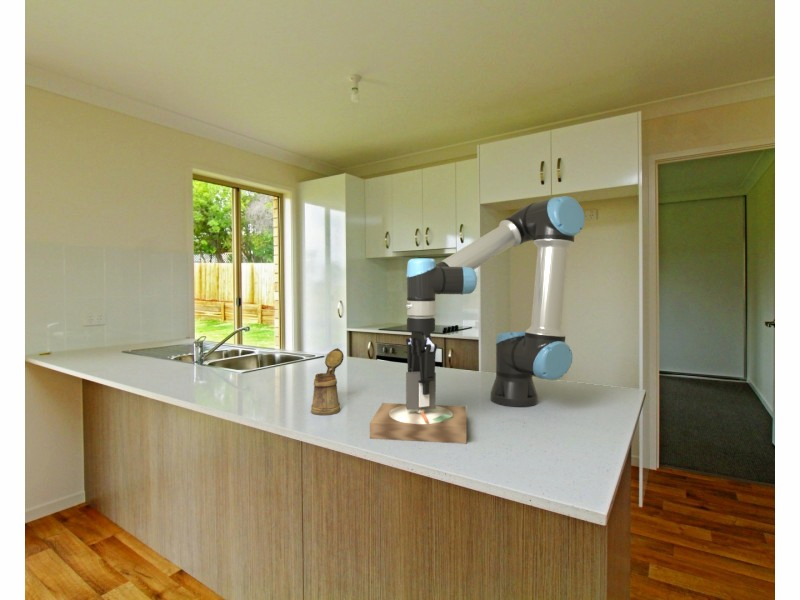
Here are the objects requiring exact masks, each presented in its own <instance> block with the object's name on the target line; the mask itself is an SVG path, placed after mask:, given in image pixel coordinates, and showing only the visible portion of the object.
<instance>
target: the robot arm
mask: <svg viewBox="0 0 800 600" xmlns="http://www.w3.org/2000/svg"><path fill="white" fill-rule="evenodd" d="M585 217H586V216H585V212H584V209H583V207H582V206H581V205H580V203H579V202H578V200H576V199H575V198H574V197H571V196H566V195H563V196H553V197H551V198H549V199H544V200H541V201H540V200H539V201H537V202H531V203H530V204H527V205H525V206H523V207H522V208H520V209H518V210H517V211H515V212H513V214H511V215H509V216H508V217H507V218H505V219H503V220H501V221H500V222H499V223H498V227H496V228H494V229H492V230H490V231H489V232H487V233H486V234H484V235H482V236H481V237H479V238H477V239H476V240H474V241H473V242H471V243H469V244H467V245H466V246H464V247H463V248H461V249H460V250H458V251H456V252H454V253H453V254H451V255H449V256H448V257H446V258H445V259H443V260H441V261H439V262H437V263H436V259H435V258H426V257H425V258H424V257H423V258H420V257H419V258H411V259H409V260H408V261H407V266H406V300H407V301H406V305H405V308H406V316H409V317H407V319H406V331H407V332H408V333H411V335H410V338H406V340H405V343H406V344H405V345H406V350H407V351H406V354H407V357H406V358H407V360H406V361H407V372H420V376H421V380H419V381H418V382H419V407H426V406H429V383H430V382H431V381H434V379H435V373H436V357H437V356H436V353H437V350H438V344H437V343H433V342H432V336H431V333H433V332H435V331H436V318H435V316H436V295H462V296H463V295H471V294H472V293H473V292H474V291H475V290H476V288H477V285H478V284H477V281H478V277H477V273H476V271H475V269H477V268H480V266H482V265H484V264H486V263H487V262H489V261H490V260H492V259H493V258H495V257H497V256H498V255H500V254H502V253H503V252H505V251H507V250H508V249H509V248H517V247H519V246H520V245H522V244H525V243H527V242H530V241H531V242H532V243H533V244H534V245H535V246H536V248H537V251H536V252H537V254H536V263H535V264H536V265H535V275H534V276H535V277H534V288H533V301H532V308H531V309H532V310H531V322H530V327H528V328H527V329H526V330H525V331H507V332H504V331H503V332H499V333H498V334H497V335H496V341H495V346H496V349H495V353H496V355H495V356H496V357H495V378H494V382H493V385H492V388H491V390H490V401H491V402H493V403H494V404H498V405H501V406H508V407H519V408H521V407H522V408H523V407H525V408H526V407H532V406H535V405H537V404H538V393H537V390H536V389H537V388H536V386H535V383H534V380H533V377H536V378H538V379H540V380H548V381H556V380H560V379H561V378H563V377H564V375H565V374H567V373H568V371H569V369H571V365H572V363H573V351H572V349H571V348H570V346H569V345H568V344H567V343H566V334H565V333H564V332H563V330H562V318H563V307H564V296H565V285H566V274H567V261H568V253H569V252H568V251H569V249H570V248H571V247H572V246H573V245H574V244H575V236H577V235H578V234H579V233H580V232H581V231H582V230H583V228H584V226H585V223H586V219H585Z"/></svg>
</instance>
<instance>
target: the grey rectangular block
mask: <svg viewBox="0 0 800 600" xmlns="http://www.w3.org/2000/svg"><path fill="white" fill-rule="evenodd" d="M436 374H437V373H436V372H435V379H434V381H431V382H430V383H429V406H426V407H419V382H418V381H419V380H421V376H420V372H408V371H405V378H406V380H405V404H406V408H407V410H417V413H419V414H421V415H422V417H423V419H424V421H425V422H428V419H427V417H426V415H425V414H424V409H436V405H437V404H436V399H437V398H436V396H437V394H436V390H437V389H436V386H437V385H436V384H437V382H436V381H437V379H436V377H437V375H436Z"/></svg>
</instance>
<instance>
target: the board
mask: <svg viewBox="0 0 800 600" xmlns="http://www.w3.org/2000/svg"><path fill="white" fill-rule="evenodd" d="M424 414H425V415H426V417H427V419H428V422H425V421H424V419H423V417H422V415H421V414H419V413H417V410H407V408H406V403H396V402H395V403H392V402H382V403H381V405H380V406H379V408H378V409H377V411H376V413H375V414H374V416H373V417H372V419H371V420H370V421H369V439H376V440H377V439H378V440H393V441H411V442H412V441H413V442H430V443H431V442H433V443H449V444H467V408H466V406H464V405H463V406H462V405H443V404H441V405H440V404H438V405H437V404H436V409H424Z"/></svg>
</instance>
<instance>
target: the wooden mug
mask: <svg viewBox="0 0 800 600" xmlns="http://www.w3.org/2000/svg"><path fill="white" fill-rule="evenodd" d="M326 354H327V355H326V357H325V361H324V363H325V365H326V366H325V367H327V369H326V370H327V371H326V372H325V373H324V372H322V373H321V372H320V373H317V374H315V375H314V376H315V378H314V380H313V386H314V387H313V396H312V404H311V407H310V408H311V409H310V413H311V414H313V415H319V416H330V415H335V414H338V413H340V411H341V404H340V402H339V394H338V393H339V392H338V386H337V384H338V379H337V378H336V374H335V371H336V369H337V368H339V366H341V365H342V364H343V361H344V357H345V356H344V352H343V351H342V350H341V349H339V348H335V349H332V350H331V351H330V352H328V353H326Z"/></svg>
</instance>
